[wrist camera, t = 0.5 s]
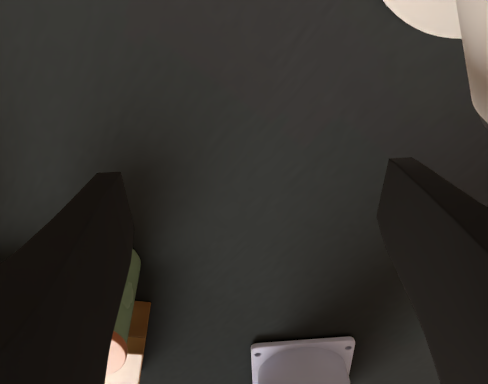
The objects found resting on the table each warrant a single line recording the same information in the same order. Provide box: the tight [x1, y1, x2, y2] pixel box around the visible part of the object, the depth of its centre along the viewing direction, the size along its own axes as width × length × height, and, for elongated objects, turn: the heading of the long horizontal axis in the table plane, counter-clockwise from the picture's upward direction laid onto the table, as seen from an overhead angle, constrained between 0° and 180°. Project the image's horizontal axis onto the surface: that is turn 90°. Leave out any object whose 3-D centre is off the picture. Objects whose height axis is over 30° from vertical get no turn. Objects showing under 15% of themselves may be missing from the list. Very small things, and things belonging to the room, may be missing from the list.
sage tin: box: [106, 249, 141, 376], centre depth 25 cm, size 4×4×6 cm
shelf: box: [105, 301, 151, 384], centre depth 29 cm, size 17×9×5 cm, turn 77°
